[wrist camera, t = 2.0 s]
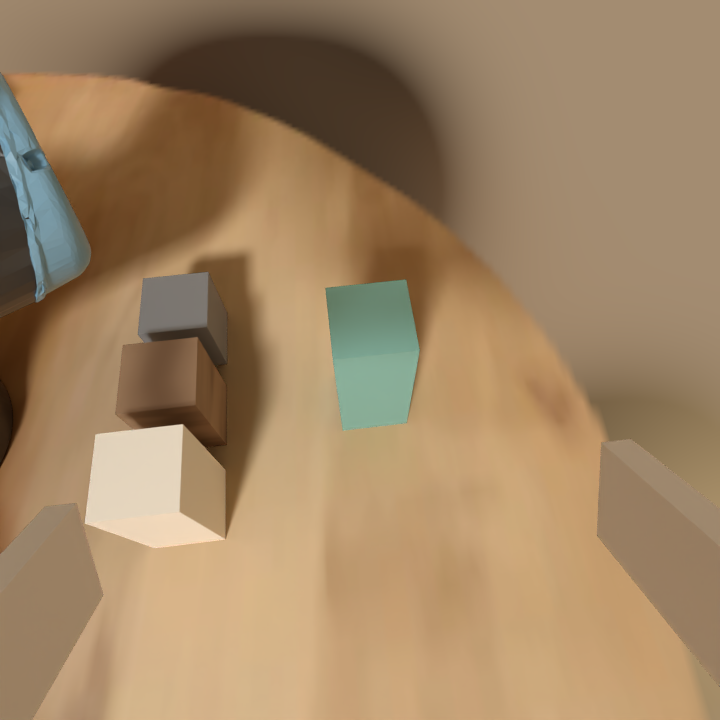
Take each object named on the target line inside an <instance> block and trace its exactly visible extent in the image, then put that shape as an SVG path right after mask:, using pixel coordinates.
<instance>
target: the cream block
mask: <svg viewBox="0 0 720 720" xmlns="http://www.w3.org/2000/svg"><path fill="white" fill-rule="evenodd" d="M85 524H88V525H91V526H94V527H96V528H99V529H102V530H105V531H108V532H110V533H113V534H116V535H119V536H122V537H124V538H127V539H130V540H133V541H136V542H138V543H141V544H144V545H147V546H150V547H152V548H160V547H168V546H176V545H184V544H192V543H200V542H208V541H216V540H225V539H226V470H225V469H224V468H223V467H222V466H221V464H220V463H219V462H218V461H217V460H216V459H215V458H214V457H213V456H212V455H211V454H210V453H209V452H208V451H207V449H206V448H205V447H204V446H203V445H202V444H201V443H200V442H199V441H198V440H197V439H196V438H195V437H194V435H193V434H192V433H191V432H190V431H189V430H188V429H187V428H186V427H185V426H184V425H183V424H180V425H172V426H163V427H154V428H145V429H137V430H128V431H119V432H111V433H102V434H96V436H95V444H94V452H93V460H92V468H91V476H90V485H89V493H88V501H87V509H86V517H85Z"/></svg>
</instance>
